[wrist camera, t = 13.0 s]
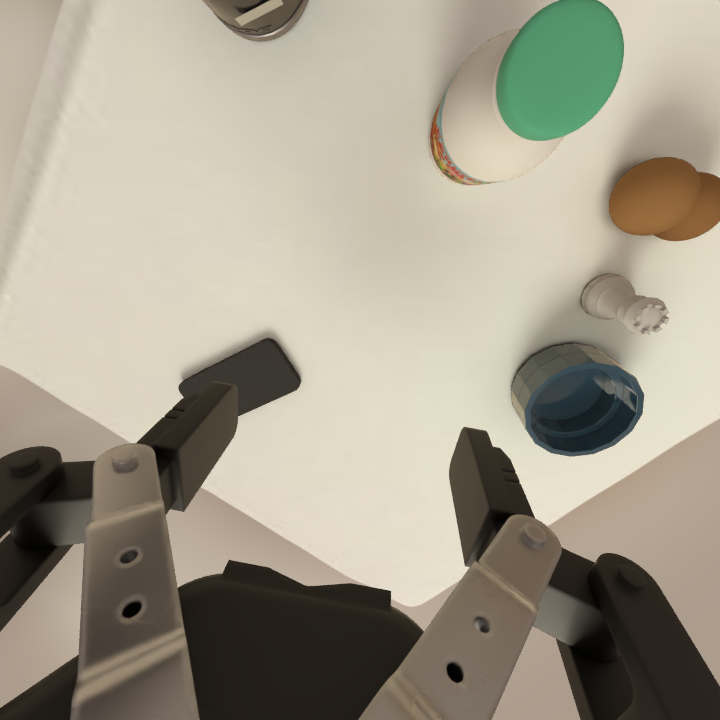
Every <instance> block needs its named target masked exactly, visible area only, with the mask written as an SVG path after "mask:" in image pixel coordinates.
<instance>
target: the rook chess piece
mask: <svg viewBox="0 0 720 720" xmlns="http://www.w3.org/2000/svg"><path fill="white" fill-rule="evenodd" d="M581 300H582V307H583V308H584V310H585V311H586V313H588V314H590V315H592V316H594V317H596V318H598V319H613V318H616V319H618V320H619V321H620V323H622V324H624V325H625V327H626V328H627V330H628V331H630V332H632V333H634V334H650V332H651V331H654V332H658V331H660V330H661V329H662V328H661V327H659V326H660V325H661V324H662V323H665V324H667V323H668V320H669V318H668V317H666V314H668V313H669V311H668V310H667V308H666V306H665V304H664V302H663V301H661V300H659V299H658V298H647V297H645V296H638V295H636V294H635V292H634V288H633V287H632V285H631V283H630V282H629V281H627V280H626V279H624V278H622V277H620V276H618V275H612V274H607V275H604V276H600V277H598V278H596V279H595V280H593V281H592V282H590V283H589V285H588V286H587V287H586V289H585V290H584V292H583V295H582V298H581Z"/></svg>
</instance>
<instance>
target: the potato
mask: <svg viewBox="0 0 720 720" xmlns="http://www.w3.org/2000/svg"><path fill="white" fill-rule="evenodd" d="M609 213H610V216H611V219H612V221H613V222H614V223H615V225H616V226H617V227H618V228H620V229H621V230H623V231H624V232H627V233H630V234H633V235H655V236H657V237H658V238H661V239H664V240H668V241H683V240H688V239H692V238H695V237H698V236H700V235H702V234H704V233H706V232H707V231H709V230H710V229H712V228H713V227H714V226H715V225H716V224H717V223H718V222H719V221H720V178H718V177H717V176H715V175H712V174H709V173H703V172H697V171H696V170H695V168H694V167H693V166H692V165H691V164H689V163H688V162H686V161H684V160H682V159H678V158H672V157H661V158H655V159H651V160H648V161H645V162H643V163H641V164H639V165H637V166H635V167H634V168H632V169H631V170H629V171H628V172H627V173H626V174H625V175H624V176H623V177H622V178H621V179H620V180H619V181H618V183H617V184H616V186H615V187H614V189H613V191H612V193H611V196H610V200H609Z"/></svg>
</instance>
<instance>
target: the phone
mask: <svg viewBox="0 0 720 720" xmlns="http://www.w3.org/2000/svg"><path fill="white" fill-rule="evenodd" d="M214 381H217V382H222V383H228V384H233V385H236V386H237V389H238V416H240V415H242V414H244V413H247V412H249V411H251V410H253V409H256V408H258V407H260V406H262V405H264V404H267V403H269V402H271V401H273V400H276V399H278V398H280V397H282V396H285V395H287V394H289V393H291V392H293V391H295V390H297V389H298V388H299V386H300V383H301V381H300V378H299V376H298V375H297V373H296V371H295V370H294V368H293V367H292V365H291V364H290V362H289V361H288V359H287V358H286V356H285V355H284V353H283V352H282V350H281V349H280V347H279V346H278V344H277V343H276V342H275V341H274V340H272V339H265V340H262V341H260V342H258V343H256V344H254V345H252V346H250V347H248V348H246V349H244V350H242V351H241V352H239V353H237V354H235V355H233V356H231V357H229V358H227V359H225V360H223V361H221V362H219V363H217V364H215V365H213V366H211V367H209V368H207V369H205V370H203V371H201V372H199V373H197V374H195V375H193V376H191V377H189V378H188V379H186V380H184V381H183V382H182V383H181V384H180V385H179V391H180V393H181V394H182V395H183V397H184V398H185V397H187V396H189V395H191V394H193V393H195V392H198V393H202V392H203V391H204V390H205V389H206V388H207V387H208V386H209V385H210V384H211V383H212V382H214Z"/></svg>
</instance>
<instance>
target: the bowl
mask: <svg viewBox="0 0 720 720" xmlns="http://www.w3.org/2000/svg"><path fill="white" fill-rule="evenodd" d="M511 392H512V404H513V407H514V408H515V410H516V412H517V414H518V416H519V418H520V420H521V421H522V423H523V425H524V427H525V429H526V430H527V432H528V434H529V435H530V437H531V438H532V440H533V441H534V443H535V444H537V445H539V446H540V447H542V448H544V449H545V450H547V451H549V452H550V453H554V454H560V455H565V456H570V457H571V456H580V455H589V454H594V453H597V452H599V451H602V450H604V449H607V448H609V447H611V446H614V445H615V444H617V443H618V442H619V441H620V440H622V439H623V438H624V437H625V436H626V435H628V434H629V433H630V432H631V431H632V430H633V429H634V427H635V425H636V424H637V422H638V420H639V418H640V417H641V415H642V413H643V401H644V393H643V391H642V389H641V387H640V385H639V383H638V381H637V379H636V378H635V377H634V376H633V375H632V374H630V373H629V372H628V371H626V370H625V369H624V368H623V367H621V366H620V365H619V364H618V363H616V362H615V361H614V360H612V359H611V358H610V357H608V356H607V355H606V354H604V353H603V352H601V351H600V350H598V349H597V348H595V347H593V346H587V345H581V344H576V343H571V344H565V345H559V346H553V347H550V348H548V349H546V350H544V351H542V352H541V353H539V354H537V355H535V356H533V357H531V358H530V359H529V360H528V362H527V363H526V364H525V365H524V366H523V367H522V368H521V369H520V370H519V371H518V372H517V375H516V377H515V380H514V383H513V385H512V388H511Z"/></svg>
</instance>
